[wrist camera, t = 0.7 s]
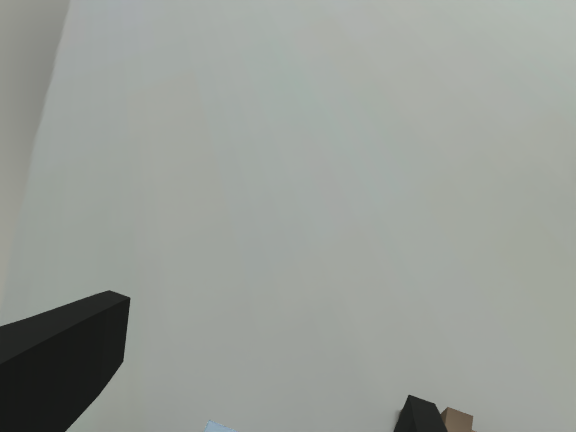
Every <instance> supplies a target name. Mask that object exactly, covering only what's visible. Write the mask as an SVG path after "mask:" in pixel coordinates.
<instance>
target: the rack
mask: <svg viewBox="0 0 576 432" xmlns="http://www.w3.org/2000/svg"><path fill="white" fill-rule="evenodd" d="M402 410H403V409H402ZM402 410H401V412H402ZM400 415H401V413H400ZM440 415H441V417H442V420H443V422H444V424H445V426H446V428H447V430H448V432H475V431H473V430H472V421H473V416H471V415H469V414H466V413H463V412H460V411H457V410H455V409H452V408H449V407H447V408H446V409H445V410H444V411H443V412H442V413H441V414H440Z"/></svg>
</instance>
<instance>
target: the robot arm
mask: <svg viewBox="0 0 576 432" xmlns="http://www.w3.org/2000/svg"><path fill="white" fill-rule="evenodd" d="M129 306H130V297H127V296H124V295H121V294H118V293H116V292H113V291H110V290H109V291H105V292H102V293H99V294H95V295H93V296H90V297H87V298H84V299H81V300H78V301H75V302H72V303H70V304H67V305H64V306H61V307H58V308H55V309H52V310H50V311H47V312H44V313H41V314H38V315H35V316H32V317H29V318H26V319H23V320H20V321H17V322H13V323H10V324H7V325H4V326H0V432H65V431H66V430H67V429H68V428H69V427H70V426H71V425H72V424H73V423H74V422H75V421H76V420H77V419H78V417H79V416H80V415H81V414H82V413H83V412H84V411H85V410H86V409H87V408H88V407H89V406H90V404H91V403H92V402H93V401H94V400H95V399H96V398H97V397H98V396H99V394H100V393H101V392H102V390H103V389H104V388H105V386H106V385H107V384H108V382H109V381H110V380H111V378H112V377H113V375H114V374H115V373H116V371H117V370H118V368H119V367H120V365H121V364H122V363H123V359H124V350H125V341H126V333H127V324H128V315H129ZM394 432H448V430H447V428H446V426H445V424H444V422H443V420H442V417H441V415H440V413H439V411H438V409H437V407H436V405H435V404H434V403H431V402H428V401H425V400H423V399H420V398H417V397H414V396H411V395H408V398H407V400H406V403H405V405H404V407H403V410H402V412H401V415H400V417H399V419H398V422H397V424H396V427H395V429H394Z"/></svg>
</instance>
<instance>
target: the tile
mask: <svg viewBox="0 0 576 432" xmlns="http://www.w3.org/2000/svg"><path fill="white" fill-rule="evenodd" d="M204 432H238V431H235V430H233V429H230V428H228V427H225V426H223V425H220V424H218V423H216V422H213V421H211V420H209V421H208V423H207V425H206V428H205V430H204Z"/></svg>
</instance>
